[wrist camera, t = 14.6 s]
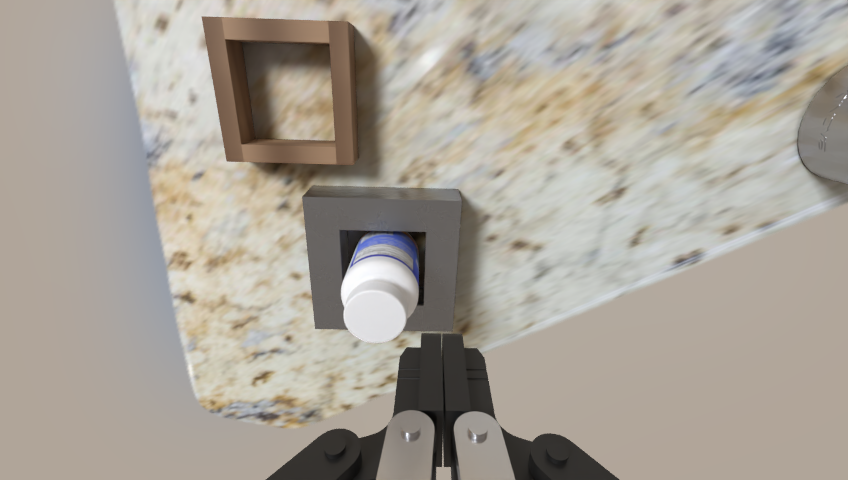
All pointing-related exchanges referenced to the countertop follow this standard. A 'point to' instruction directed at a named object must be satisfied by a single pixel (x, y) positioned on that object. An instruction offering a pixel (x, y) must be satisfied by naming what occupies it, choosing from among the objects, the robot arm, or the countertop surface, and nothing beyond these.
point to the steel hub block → (383, 211)
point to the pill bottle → (381, 285)
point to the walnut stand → (234, 92)
